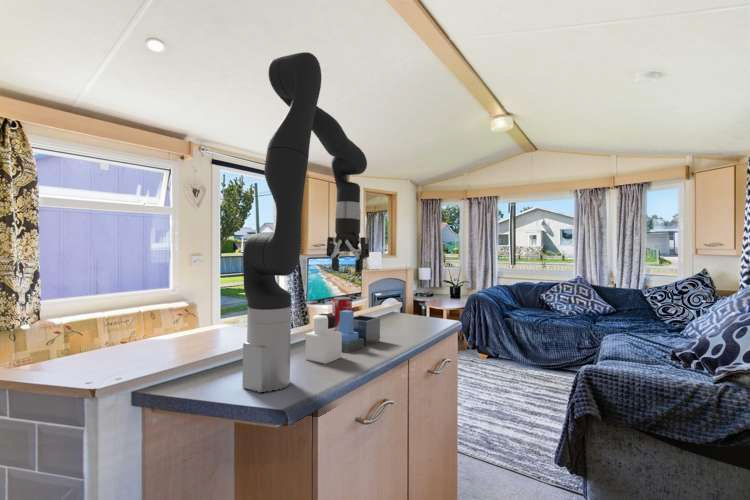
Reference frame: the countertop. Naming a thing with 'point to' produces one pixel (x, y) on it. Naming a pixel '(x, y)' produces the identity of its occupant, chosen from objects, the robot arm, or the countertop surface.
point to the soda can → (340, 309)
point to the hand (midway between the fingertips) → (346, 271)
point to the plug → (347, 326)
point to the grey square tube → (367, 328)
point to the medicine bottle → (323, 340)
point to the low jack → (353, 345)
